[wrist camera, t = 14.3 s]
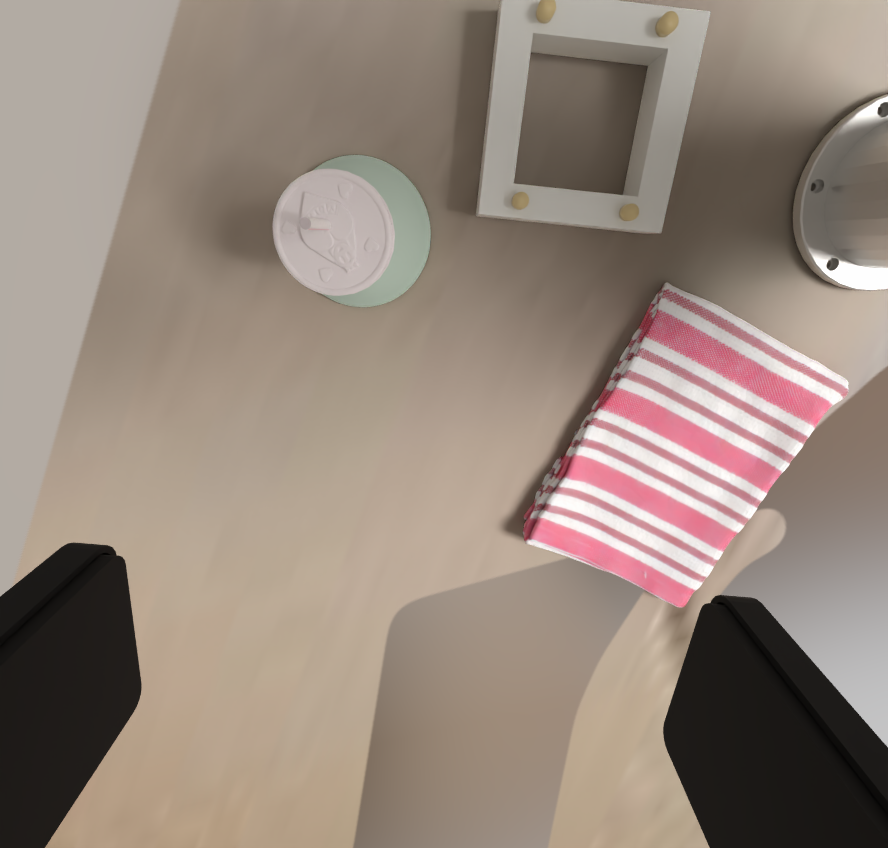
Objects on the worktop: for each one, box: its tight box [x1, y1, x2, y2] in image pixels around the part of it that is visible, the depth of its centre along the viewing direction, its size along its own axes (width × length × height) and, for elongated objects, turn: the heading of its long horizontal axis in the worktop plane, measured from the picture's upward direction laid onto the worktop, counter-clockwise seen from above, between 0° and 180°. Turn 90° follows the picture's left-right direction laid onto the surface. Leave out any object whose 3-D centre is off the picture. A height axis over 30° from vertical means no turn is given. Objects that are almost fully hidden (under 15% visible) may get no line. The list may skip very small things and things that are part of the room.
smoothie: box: [273, 169, 395, 296], centre depth 29 cm, size 6×6×14 cm
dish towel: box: [523, 283, 849, 607], centre depth 41 cm, size 17×23×4 cm
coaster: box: [314, 155, 431, 307], centre depth 36 cm, size 10×10×1 cm
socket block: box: [476, 0, 711, 234], centre depth 33 cm, size 12×12×4 cm
